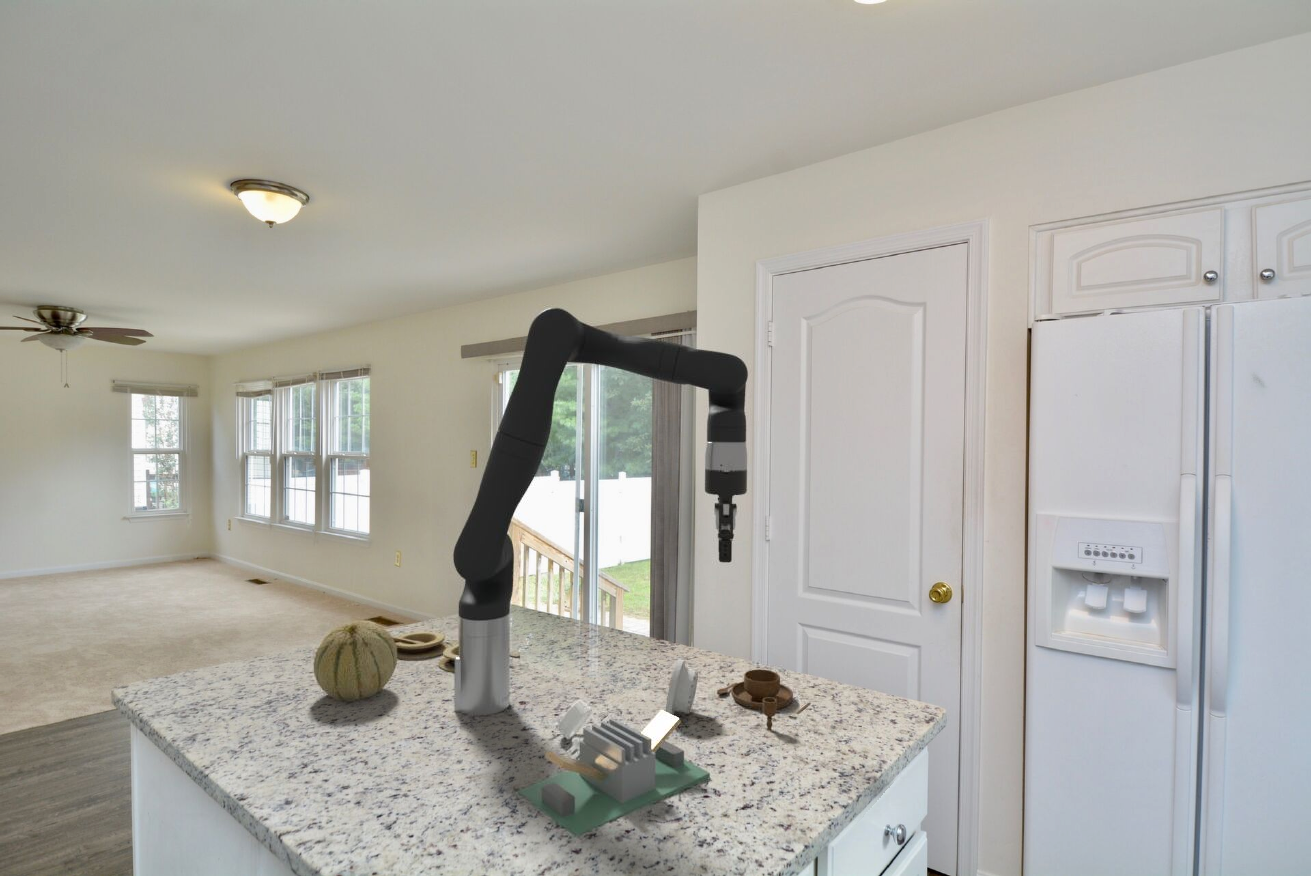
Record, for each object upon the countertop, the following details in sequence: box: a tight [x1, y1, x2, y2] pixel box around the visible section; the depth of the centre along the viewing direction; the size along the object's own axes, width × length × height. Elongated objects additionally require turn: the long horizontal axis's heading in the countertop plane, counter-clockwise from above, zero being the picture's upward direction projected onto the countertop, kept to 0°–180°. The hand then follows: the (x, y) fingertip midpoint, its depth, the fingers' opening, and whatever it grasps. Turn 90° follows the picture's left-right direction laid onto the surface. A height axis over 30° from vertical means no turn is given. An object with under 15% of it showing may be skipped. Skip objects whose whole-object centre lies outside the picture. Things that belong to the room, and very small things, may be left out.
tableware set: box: [391, 630, 521, 674], centre depth 157 cm, size 30×20×6 cm, turn 61°
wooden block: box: [640, 709, 682, 753], centre depth 104 cm, size 8×4×1 cm, turn 131°
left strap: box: [544, 750, 606, 781], centre depth 94 cm, size 8×4×1 cm, turn 131°
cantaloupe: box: [313, 620, 398, 702], centre depth 132 cm, size 15×15×15 cm
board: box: [517, 717, 711, 837], centre depth 99 cm, size 24×14×8 cm, turn 131°
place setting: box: [716, 669, 811, 732], centre depth 131 cm, size 18×20×6 cm
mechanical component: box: [665, 658, 699, 716], centre depth 125 cm, size 10×4×10 cm, turn 168°
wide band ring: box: [547, 699, 627, 760], centre depth 114 cm, size 18×10×6 cm
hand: (724, 557), depth 124 cm, fingers open, 8 cm apart
